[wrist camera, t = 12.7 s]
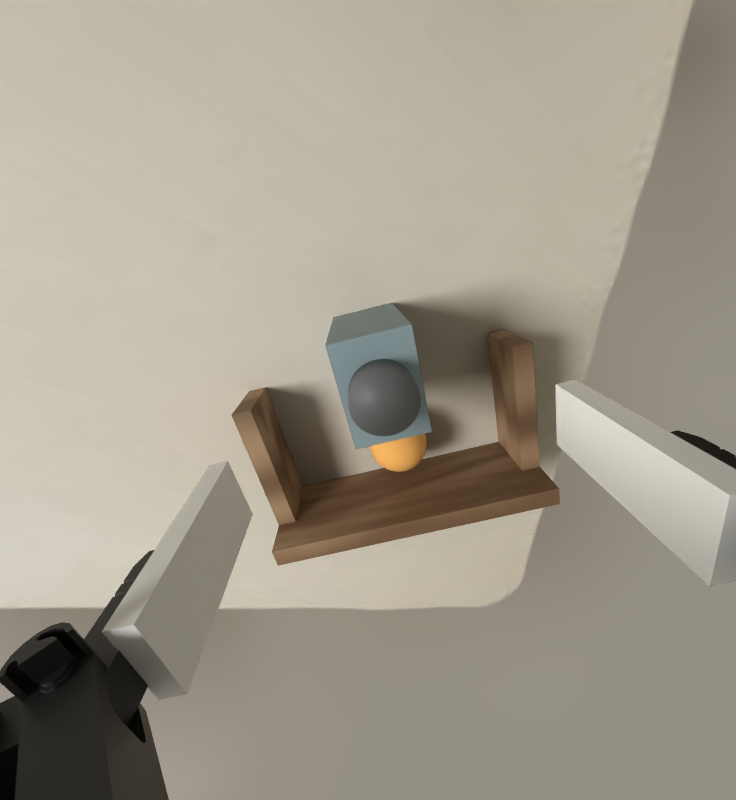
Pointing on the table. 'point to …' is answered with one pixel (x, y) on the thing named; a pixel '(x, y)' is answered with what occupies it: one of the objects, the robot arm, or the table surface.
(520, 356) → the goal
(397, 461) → the ball
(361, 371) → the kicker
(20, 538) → the table surface
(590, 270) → the table surface
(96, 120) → the table surface
